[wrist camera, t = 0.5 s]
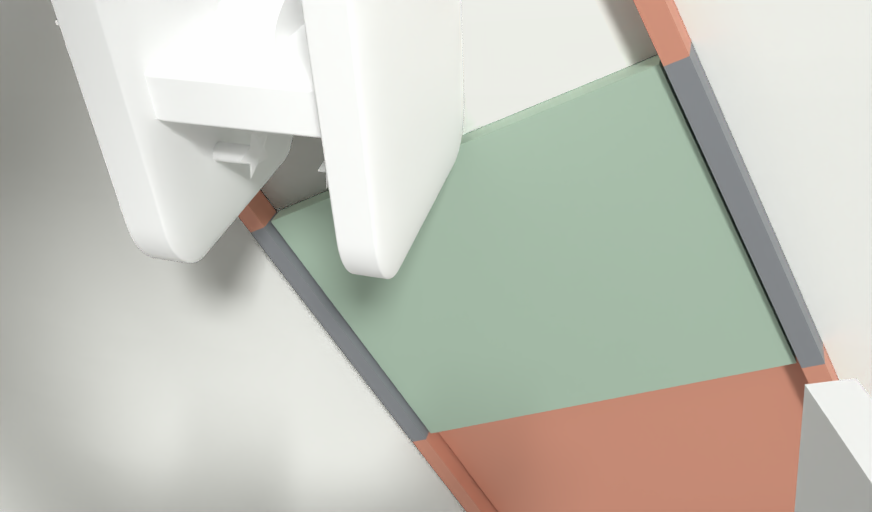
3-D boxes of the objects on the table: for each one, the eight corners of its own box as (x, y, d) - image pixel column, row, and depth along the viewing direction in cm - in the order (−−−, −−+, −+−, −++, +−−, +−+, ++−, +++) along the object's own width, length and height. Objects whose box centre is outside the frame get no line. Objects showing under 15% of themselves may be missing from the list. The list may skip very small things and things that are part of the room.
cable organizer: (473, 155, 37) (390, 323, 28) (262, 132, 40) (126, 279, 31) (466, -227, 28) (340, -154, 19) (192, -224, 31) (-28, -158, 22)
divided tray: (33, -85, 36) (12, -76, 35) (474, -459, 24) (461, -462, 23) (519, 555, 55) (514, 574, 54) (900, 520, 43) (903, 543, 42)
